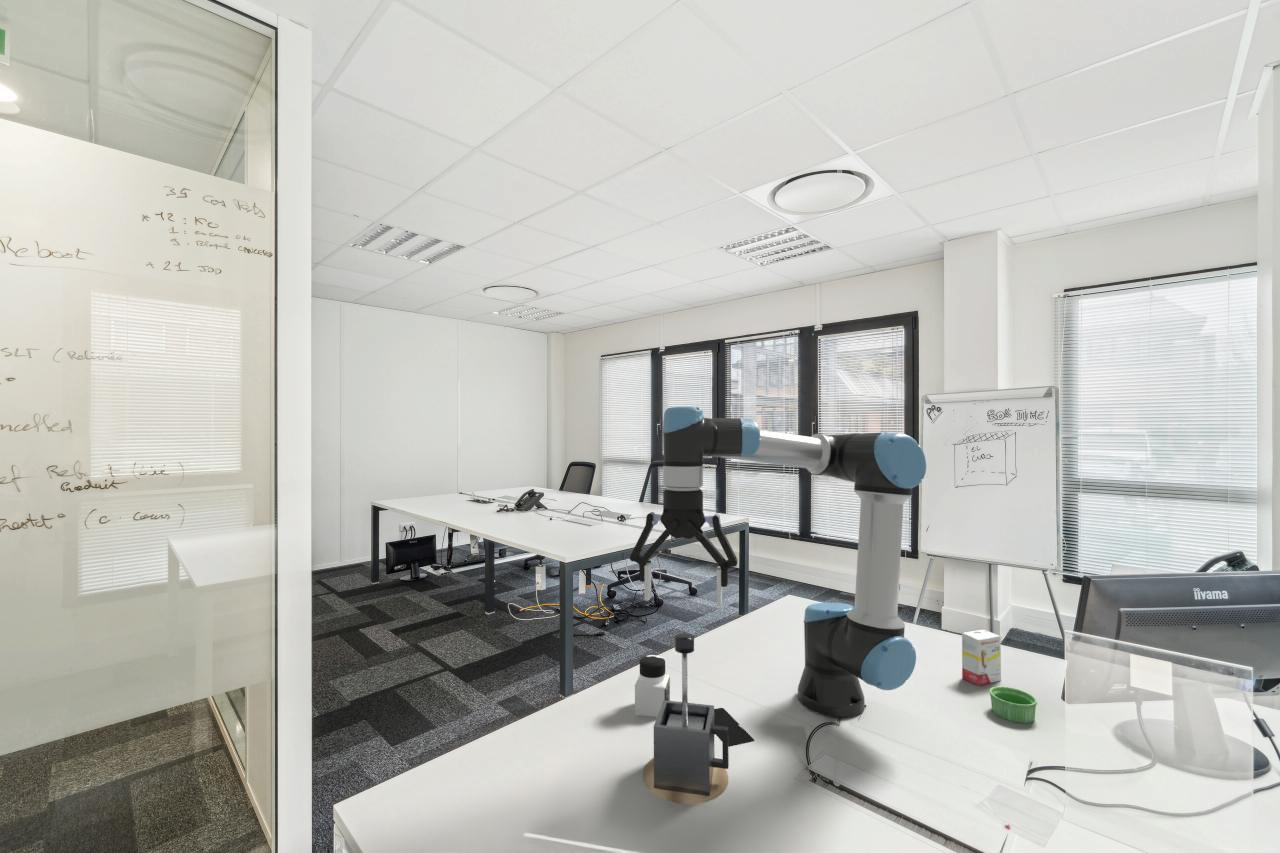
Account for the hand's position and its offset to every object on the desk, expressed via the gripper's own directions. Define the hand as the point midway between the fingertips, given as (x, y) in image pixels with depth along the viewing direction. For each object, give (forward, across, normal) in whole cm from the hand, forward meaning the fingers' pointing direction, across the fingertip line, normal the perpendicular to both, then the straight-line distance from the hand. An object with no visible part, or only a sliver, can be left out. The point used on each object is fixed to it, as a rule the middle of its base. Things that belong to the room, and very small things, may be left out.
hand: (683, 601), depth 101 cm
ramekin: (+33, -70, -39) cm, 87 cm away
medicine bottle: (+33, +11, -23) cm, 42 cm away
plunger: (+24, 0, 0) cm, 24 cm away
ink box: (+32, -70, -57) cm, 96 cm away
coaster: (+33, 0, 0) cm, 33 cm away
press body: (+32, -2, 0) cm, 32 cm away
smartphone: (+33, -6, -19) cm, 39 cm away
